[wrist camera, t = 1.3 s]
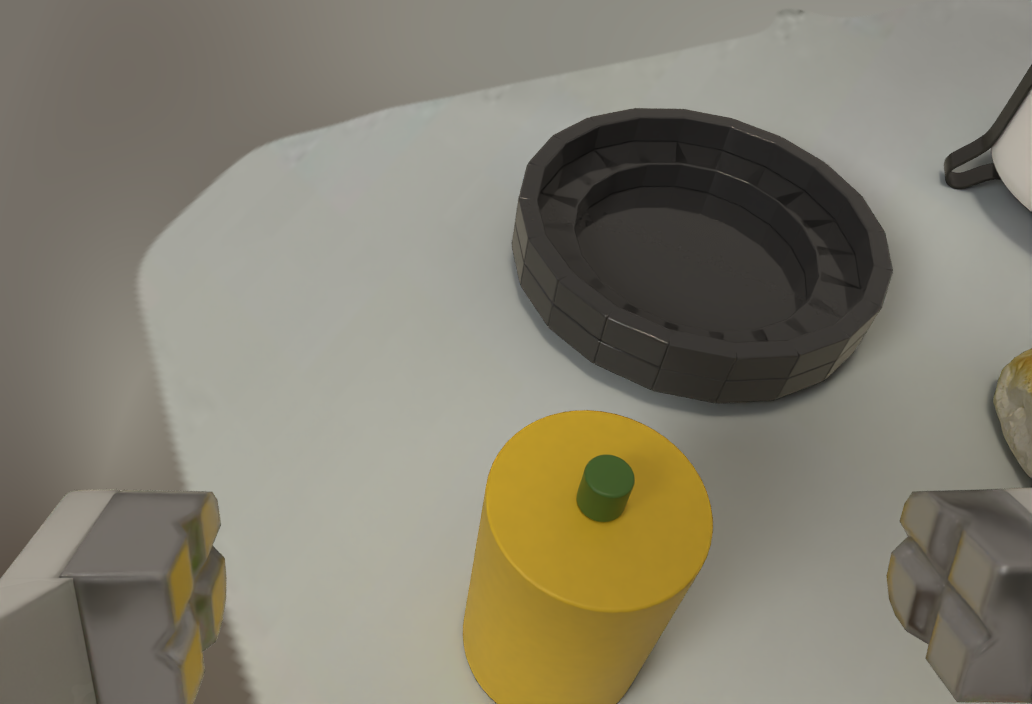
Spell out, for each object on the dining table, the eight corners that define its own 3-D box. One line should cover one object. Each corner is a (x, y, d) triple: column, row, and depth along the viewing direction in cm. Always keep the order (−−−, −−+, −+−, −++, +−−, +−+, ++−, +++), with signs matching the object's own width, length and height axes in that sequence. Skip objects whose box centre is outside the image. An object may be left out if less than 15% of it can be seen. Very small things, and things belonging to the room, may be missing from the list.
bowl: (446, 310, 35) (450, 247, 33) (595, 131, 45) (608, 71, 42) (808, 478, 32) (846, 423, 29) (885, 244, 41) (919, 187, 39)
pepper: (428, 667, 26) (444, 510, 19) (513, 525, 29) (553, 348, 22) (597, 764, 24) (681, 635, 17) (665, 603, 28) (757, 442, 21)
